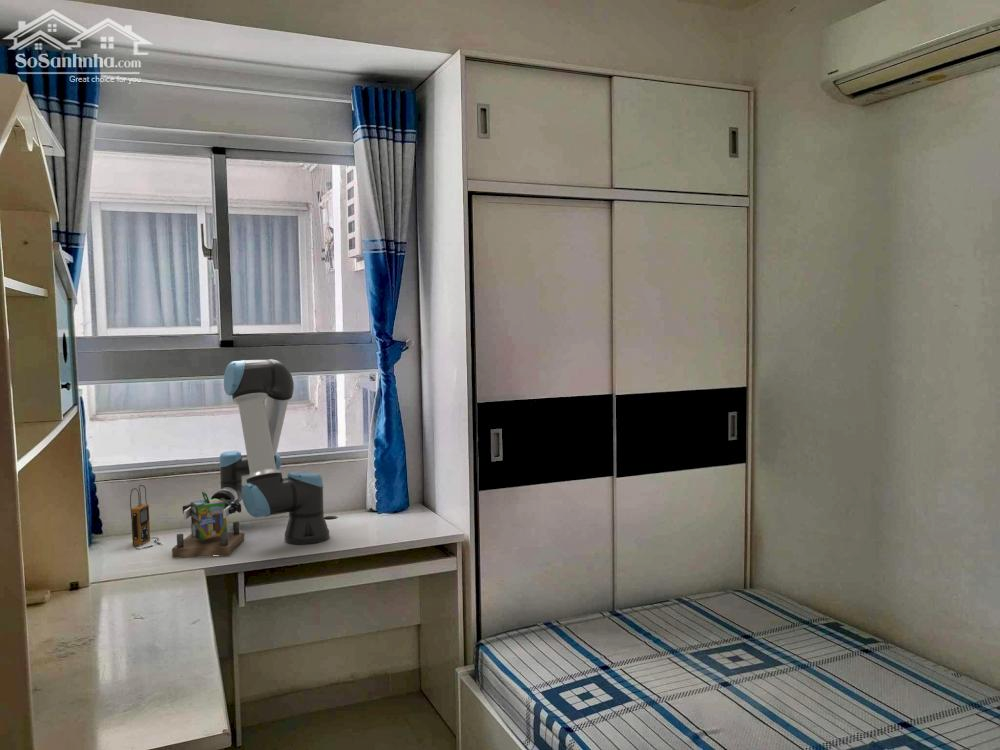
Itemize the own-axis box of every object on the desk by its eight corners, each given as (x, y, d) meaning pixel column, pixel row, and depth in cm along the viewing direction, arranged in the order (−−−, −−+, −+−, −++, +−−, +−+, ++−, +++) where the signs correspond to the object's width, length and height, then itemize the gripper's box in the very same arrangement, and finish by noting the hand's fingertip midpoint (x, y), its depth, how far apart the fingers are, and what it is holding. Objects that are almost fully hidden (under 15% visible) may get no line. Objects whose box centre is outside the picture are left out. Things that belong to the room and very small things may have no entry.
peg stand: (244, 540, 268) (243, 520, 268) (229, 555, 250) (228, 534, 250) (191, 542, 267) (190, 522, 267) (172, 557, 249) (171, 536, 249)
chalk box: (227, 536, 258) (225, 492, 257) (199, 541, 252) (197, 495, 251) (218, 530, 265) (217, 487, 264) (191, 535, 259) (189, 491, 259)
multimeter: (156, 549, 259) (153, 490, 258) (127, 549, 260) (124, 490, 258) (175, 537, 274) (173, 481, 273) (147, 537, 274) (145, 482, 273)
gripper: (258, 509, 277) (242, 524, 255) (189, 511, 275) (167, 527, 254) (258, 488, 277) (241, 502, 255) (188, 490, 275) (166, 504, 254)
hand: (204, 514), depth 254 cm, fingers closed on chalk box, 12 cm apart
